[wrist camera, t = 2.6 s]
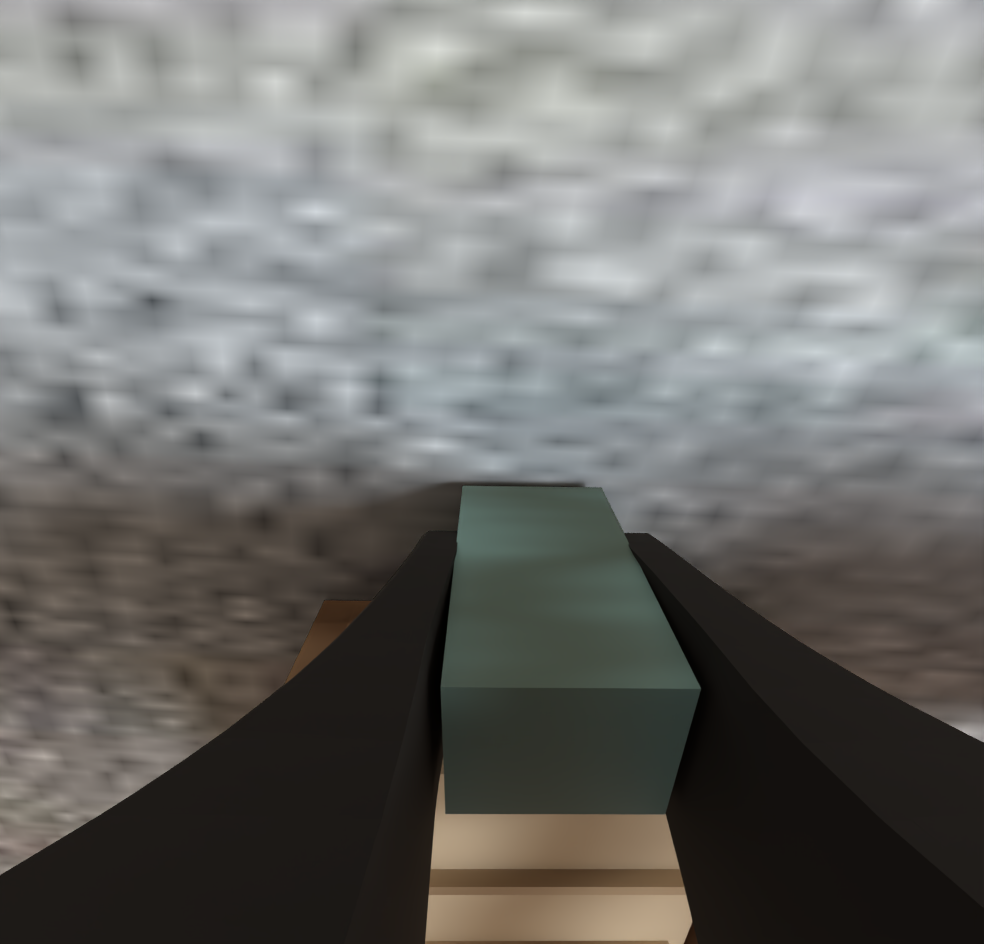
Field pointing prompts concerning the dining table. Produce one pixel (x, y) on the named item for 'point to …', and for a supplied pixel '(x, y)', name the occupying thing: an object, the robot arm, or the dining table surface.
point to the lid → (556, 731)
